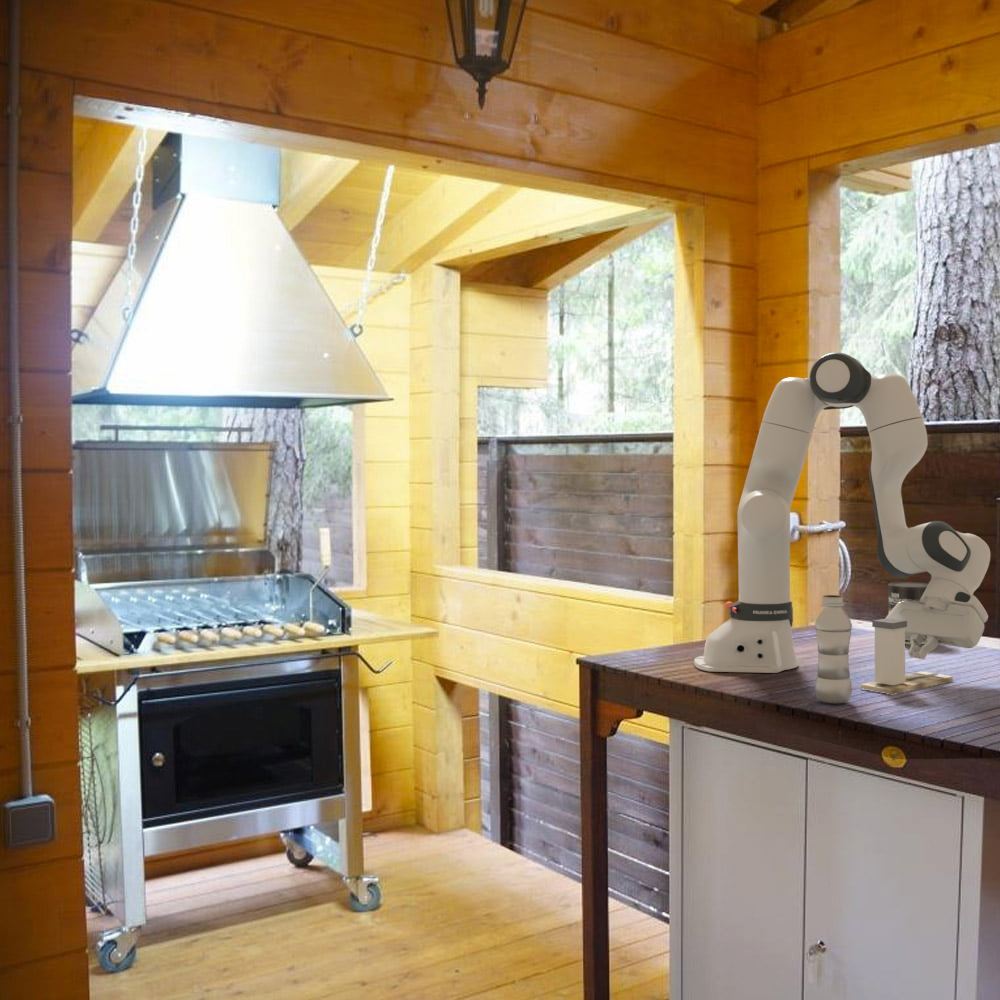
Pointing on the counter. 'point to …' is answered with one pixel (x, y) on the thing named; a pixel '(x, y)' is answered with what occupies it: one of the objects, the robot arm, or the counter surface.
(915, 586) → the coffee can
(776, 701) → the counter surface
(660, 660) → the counter surface
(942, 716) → the counter surface
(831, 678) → the plastic bottle
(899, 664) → the slider handle
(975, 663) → the counter surface
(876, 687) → the board
